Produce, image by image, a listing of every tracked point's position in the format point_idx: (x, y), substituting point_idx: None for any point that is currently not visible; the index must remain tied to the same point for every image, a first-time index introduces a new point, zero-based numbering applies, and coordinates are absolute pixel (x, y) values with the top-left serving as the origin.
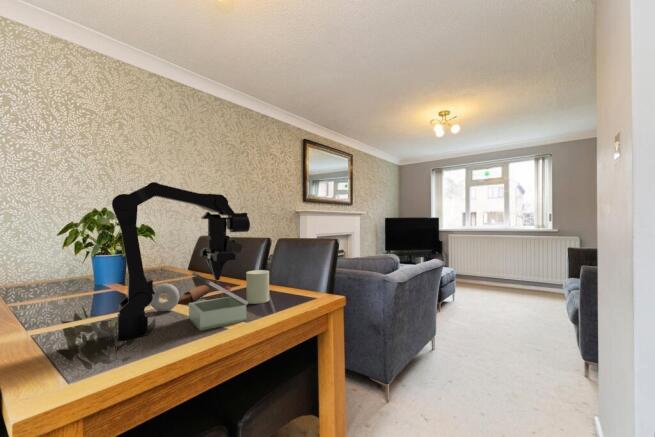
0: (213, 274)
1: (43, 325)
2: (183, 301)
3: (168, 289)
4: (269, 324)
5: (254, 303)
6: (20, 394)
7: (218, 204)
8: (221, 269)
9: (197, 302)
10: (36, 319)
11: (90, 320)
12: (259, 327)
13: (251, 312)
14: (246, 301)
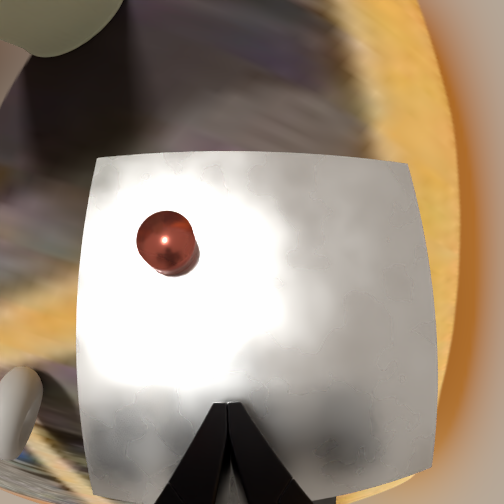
0: (229, 481)
1: (77, 501)
2: None
3: (17, 438)
4: (447, 124)
5: (106, 24)
6: (361, 497)
7: None
8: (297, 492)
9: None
10: (42, 494)
11: (68, 475)
12: (449, 170)
13: (250, 87)
14: (409, 179)
